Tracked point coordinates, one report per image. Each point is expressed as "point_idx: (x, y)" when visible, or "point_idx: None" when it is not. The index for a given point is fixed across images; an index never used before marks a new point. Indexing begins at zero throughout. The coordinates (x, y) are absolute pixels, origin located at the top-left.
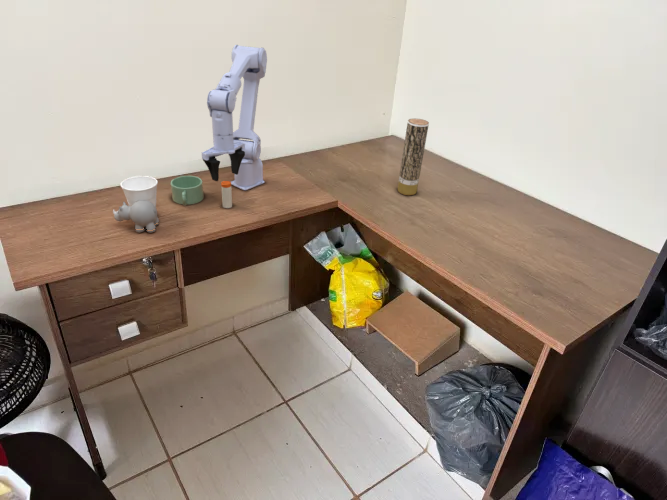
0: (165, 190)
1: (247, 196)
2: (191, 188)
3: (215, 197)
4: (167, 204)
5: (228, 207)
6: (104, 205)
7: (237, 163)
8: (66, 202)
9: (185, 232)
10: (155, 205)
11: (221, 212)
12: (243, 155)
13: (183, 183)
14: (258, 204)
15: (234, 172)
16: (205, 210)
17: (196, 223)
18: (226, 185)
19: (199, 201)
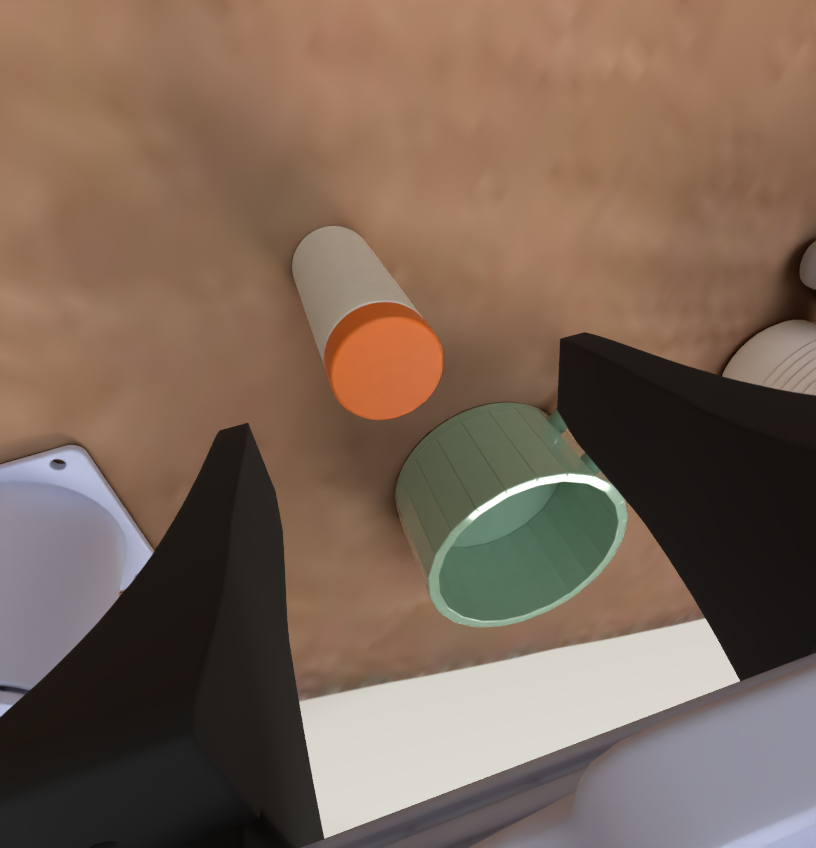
0: None
1: (88, 349)
2: (564, 470)
3: (343, 428)
4: None
5: (345, 229)
6: None
7: (234, 547)
8: None
9: (797, 40)
10: (799, 374)
11: (428, 189)
12: (45, 714)
13: (483, 581)
14: (21, 137)
15: (262, 467)
16: (501, 285)
17: (663, 128)
18: (412, 317)
19: (463, 413)
